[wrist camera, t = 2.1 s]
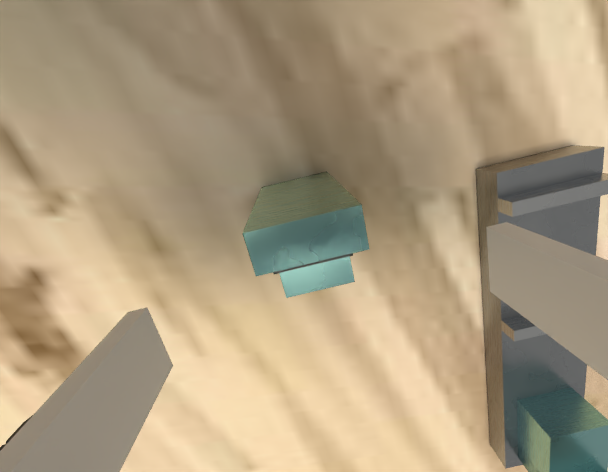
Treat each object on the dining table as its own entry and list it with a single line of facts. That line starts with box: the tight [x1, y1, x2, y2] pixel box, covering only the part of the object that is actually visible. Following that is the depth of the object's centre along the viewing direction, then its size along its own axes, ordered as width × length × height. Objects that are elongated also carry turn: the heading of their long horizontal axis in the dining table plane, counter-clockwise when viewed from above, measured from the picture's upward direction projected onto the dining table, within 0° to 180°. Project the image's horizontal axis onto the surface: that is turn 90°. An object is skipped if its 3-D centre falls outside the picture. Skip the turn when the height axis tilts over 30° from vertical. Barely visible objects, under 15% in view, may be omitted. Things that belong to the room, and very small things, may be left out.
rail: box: [476, 146, 608, 472], centre depth 18 cm, size 24×6×11 cm, turn 13°
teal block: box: [243, 172, 369, 298], centre depth 15 cm, size 6×4×9 cm, turn 13°
